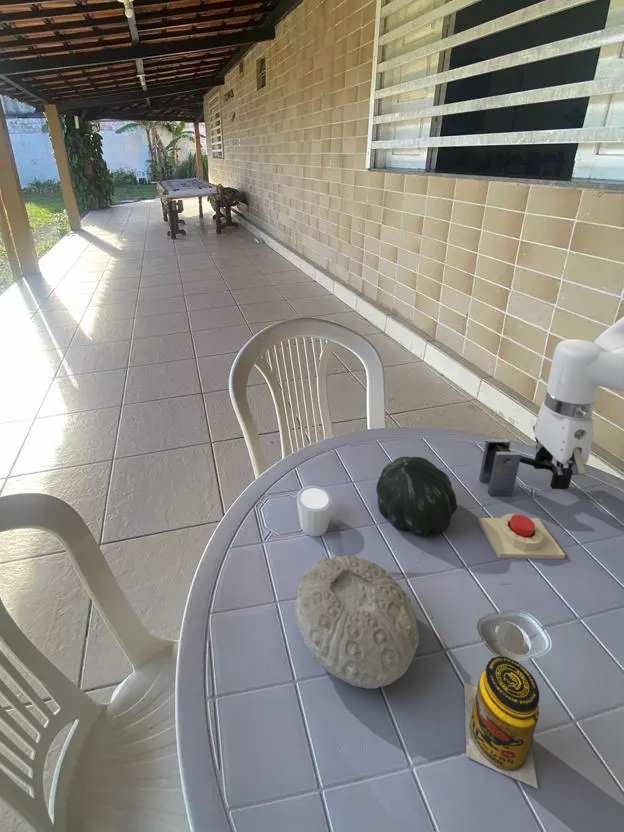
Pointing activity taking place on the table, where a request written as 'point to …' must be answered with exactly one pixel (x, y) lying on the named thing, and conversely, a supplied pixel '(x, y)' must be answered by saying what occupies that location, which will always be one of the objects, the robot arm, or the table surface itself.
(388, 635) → the decorative shell
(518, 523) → the button
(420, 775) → the table surface
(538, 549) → the control block
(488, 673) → the condiment
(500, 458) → the grey upright double plates
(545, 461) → the press lever
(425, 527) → the squash
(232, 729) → the table surface
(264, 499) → the table surface
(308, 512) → the white cylinder
